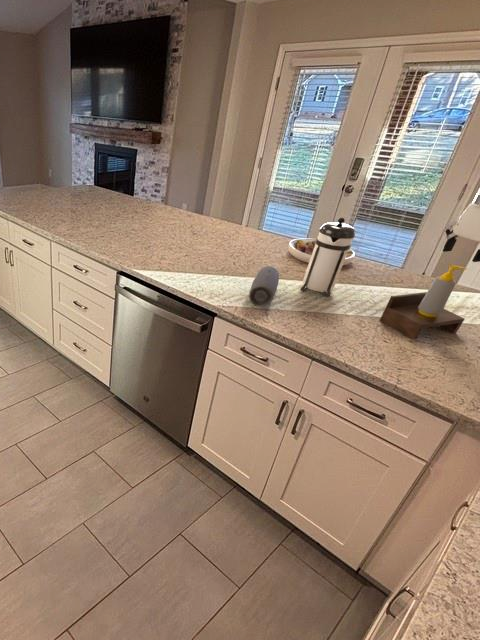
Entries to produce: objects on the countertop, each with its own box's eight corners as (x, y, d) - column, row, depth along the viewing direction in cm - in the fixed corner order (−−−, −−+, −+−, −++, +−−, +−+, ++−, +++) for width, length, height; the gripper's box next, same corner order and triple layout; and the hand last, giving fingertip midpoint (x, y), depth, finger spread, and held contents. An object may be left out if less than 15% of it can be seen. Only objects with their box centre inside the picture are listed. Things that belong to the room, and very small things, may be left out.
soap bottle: (440, 320, 141) (468, 271, 131) (416, 314, 144) (441, 265, 134) (439, 312, 146) (466, 264, 136) (416, 307, 149) (440, 259, 139)
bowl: (302, 243, 225) (306, 229, 220) (360, 259, 207) (366, 244, 202) (275, 255, 207) (280, 240, 203) (336, 274, 189) (343, 257, 185)
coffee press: (345, 297, 169) (376, 223, 152) (310, 298, 166) (337, 223, 150) (320, 279, 183) (345, 210, 166) (287, 281, 180) (309, 211, 164)
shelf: (456, 333, 146) (471, 308, 141) (413, 339, 141) (427, 314, 136) (420, 315, 157) (433, 291, 152) (379, 320, 152) (391, 295, 147)
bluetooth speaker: (253, 285, 175) (259, 262, 169) (276, 290, 172) (283, 267, 166) (244, 306, 158) (250, 282, 152) (269, 312, 154) (277, 287, 149)
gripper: (530, 207, 118) (497, 264, 127) (469, 194, 132) (444, 246, 141) (512, 209, 116) (480, 266, 125) (452, 195, 130) (427, 248, 139)
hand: (461, 256), depth 133 cm, fingers open, 9 cm apart
